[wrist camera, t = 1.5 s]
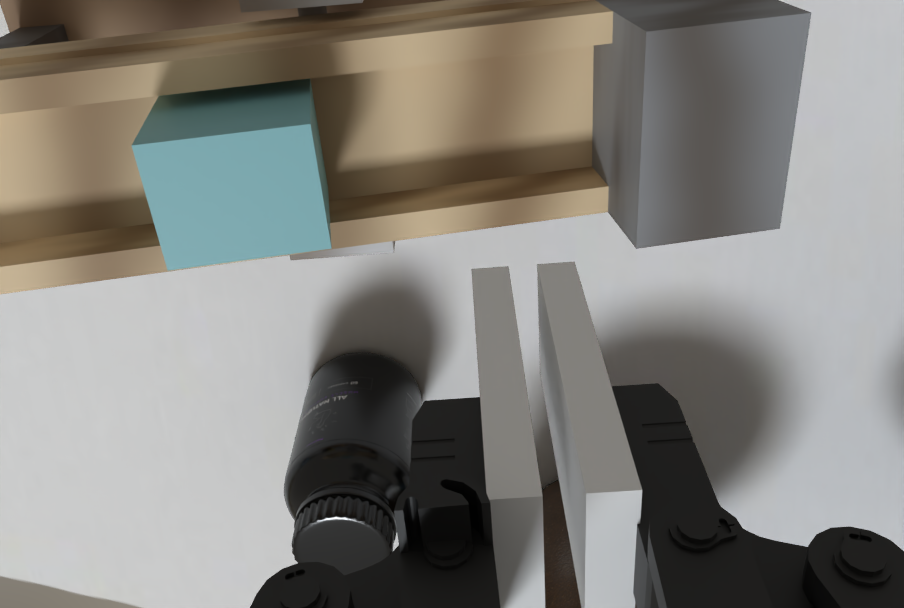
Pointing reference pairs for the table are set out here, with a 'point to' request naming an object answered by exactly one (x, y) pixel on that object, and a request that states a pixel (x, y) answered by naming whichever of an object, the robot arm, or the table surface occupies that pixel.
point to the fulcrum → (162, 9)
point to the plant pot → (558, 553)
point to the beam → (424, 123)
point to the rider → (235, 174)
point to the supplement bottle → (351, 461)
